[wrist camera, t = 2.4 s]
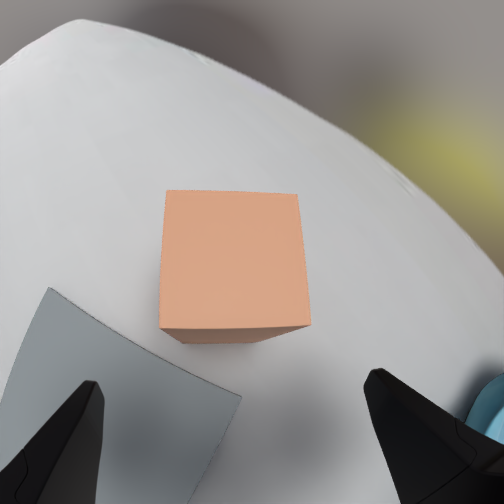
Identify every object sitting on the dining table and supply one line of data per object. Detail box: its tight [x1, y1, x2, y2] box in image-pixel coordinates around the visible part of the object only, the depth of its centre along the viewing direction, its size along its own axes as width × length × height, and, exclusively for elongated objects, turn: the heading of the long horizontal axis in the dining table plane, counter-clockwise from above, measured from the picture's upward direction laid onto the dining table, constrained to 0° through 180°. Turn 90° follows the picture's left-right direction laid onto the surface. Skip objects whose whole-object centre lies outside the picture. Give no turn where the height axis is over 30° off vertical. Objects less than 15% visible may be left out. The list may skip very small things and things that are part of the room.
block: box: [159, 190, 311, 344], centre depth 15 cm, size 5×5×11 cm
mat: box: [0, 287, 242, 504], centre depth 14 cm, size 22×16×1 cm
